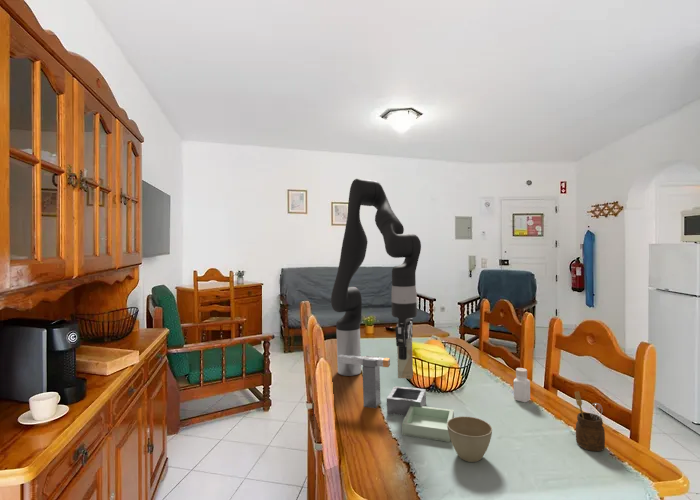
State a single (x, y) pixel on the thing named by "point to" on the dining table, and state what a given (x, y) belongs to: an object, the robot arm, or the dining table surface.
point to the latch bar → (359, 360)
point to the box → (406, 362)
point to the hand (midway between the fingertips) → (405, 356)
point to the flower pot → (469, 437)
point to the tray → (427, 423)
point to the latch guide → (371, 383)
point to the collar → (405, 400)
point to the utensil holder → (589, 429)
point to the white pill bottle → (521, 385)
